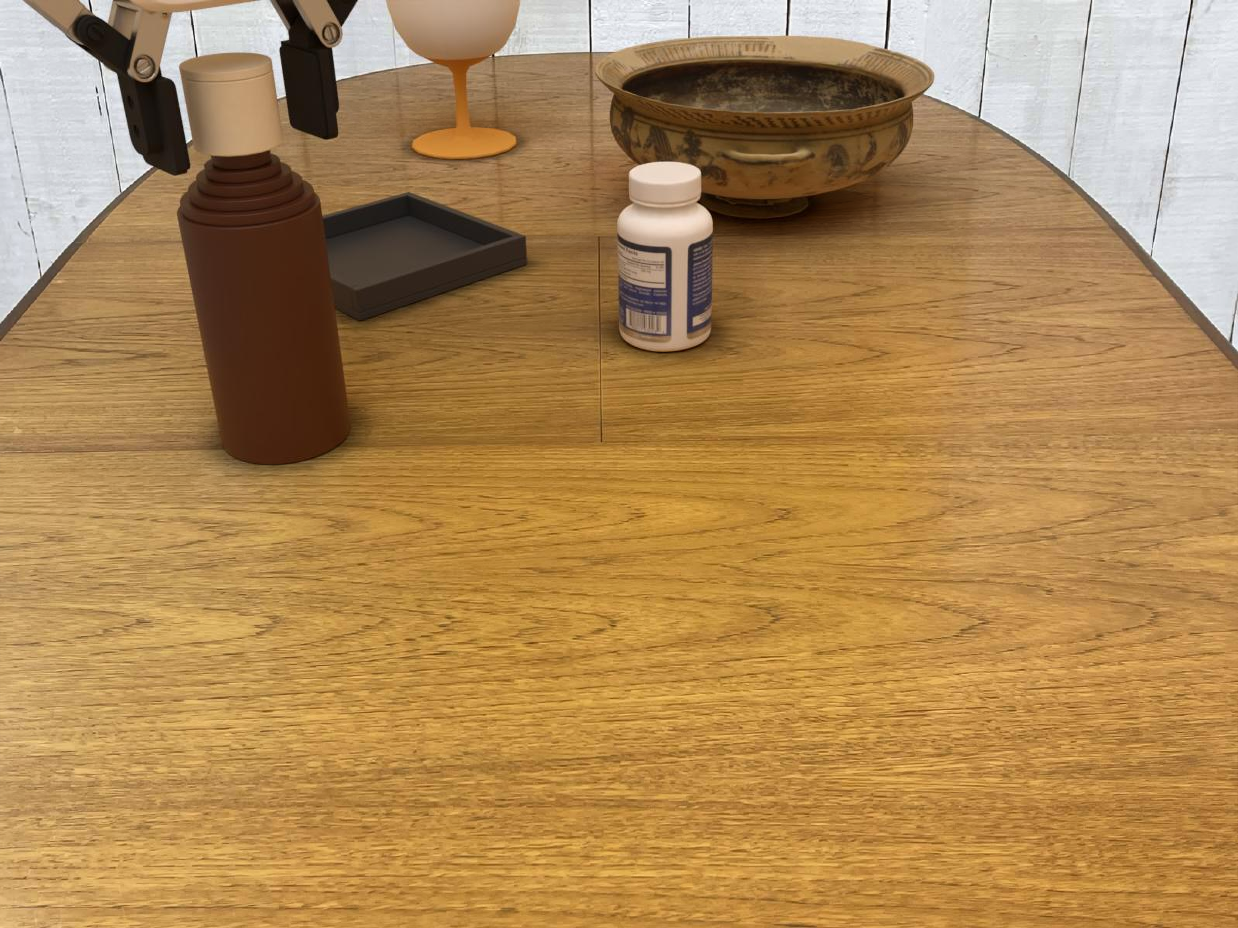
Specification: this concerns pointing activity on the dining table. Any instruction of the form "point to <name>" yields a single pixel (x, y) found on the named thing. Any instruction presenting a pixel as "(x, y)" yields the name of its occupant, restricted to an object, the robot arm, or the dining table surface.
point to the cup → (457, 62)
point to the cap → (231, 103)
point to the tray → (411, 252)
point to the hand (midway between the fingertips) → (243, 146)
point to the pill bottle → (665, 259)
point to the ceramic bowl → (764, 114)
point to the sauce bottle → (265, 309)
